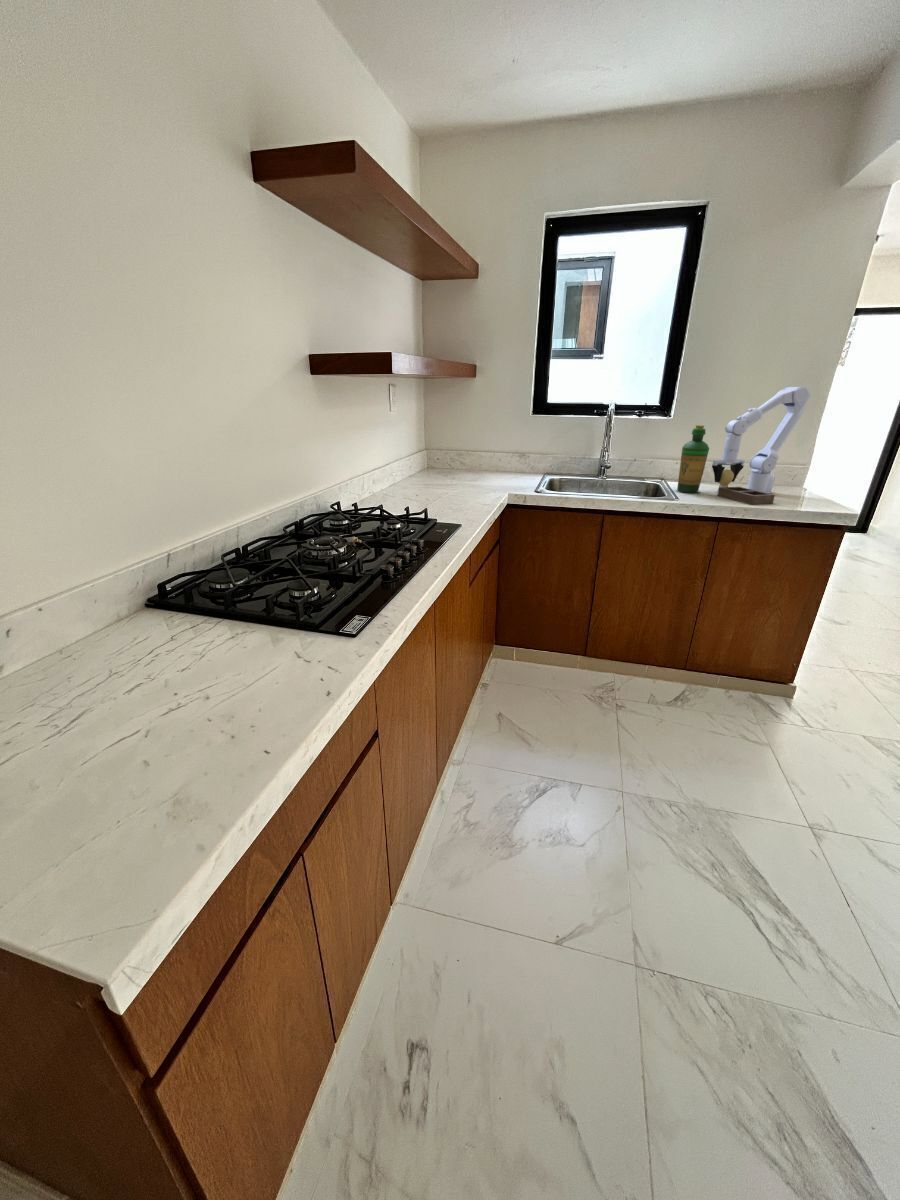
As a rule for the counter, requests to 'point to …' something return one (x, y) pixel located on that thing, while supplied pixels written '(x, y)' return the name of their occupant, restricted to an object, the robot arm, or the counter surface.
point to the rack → (746, 495)
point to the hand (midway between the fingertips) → (724, 481)
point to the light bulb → (726, 478)
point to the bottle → (693, 462)
